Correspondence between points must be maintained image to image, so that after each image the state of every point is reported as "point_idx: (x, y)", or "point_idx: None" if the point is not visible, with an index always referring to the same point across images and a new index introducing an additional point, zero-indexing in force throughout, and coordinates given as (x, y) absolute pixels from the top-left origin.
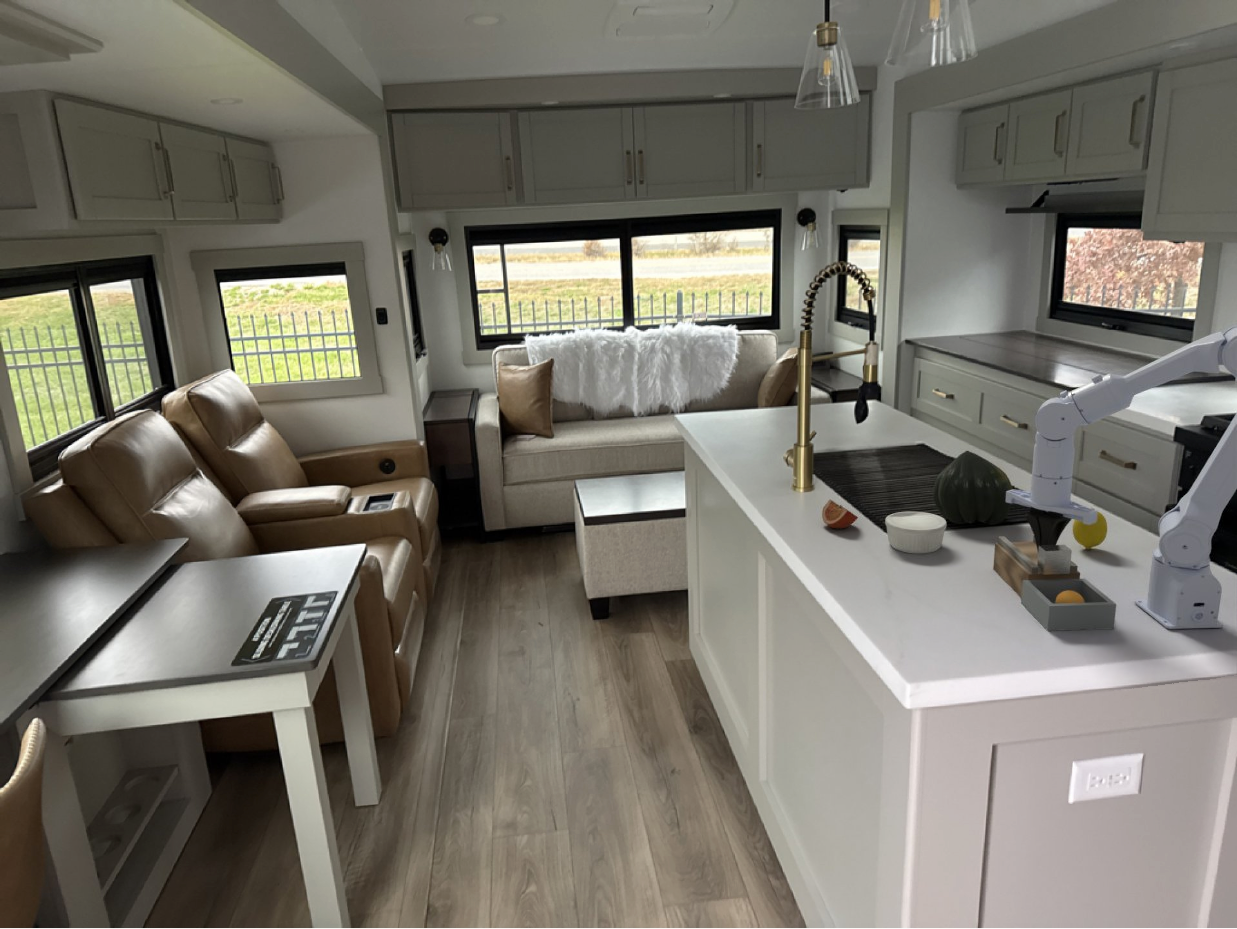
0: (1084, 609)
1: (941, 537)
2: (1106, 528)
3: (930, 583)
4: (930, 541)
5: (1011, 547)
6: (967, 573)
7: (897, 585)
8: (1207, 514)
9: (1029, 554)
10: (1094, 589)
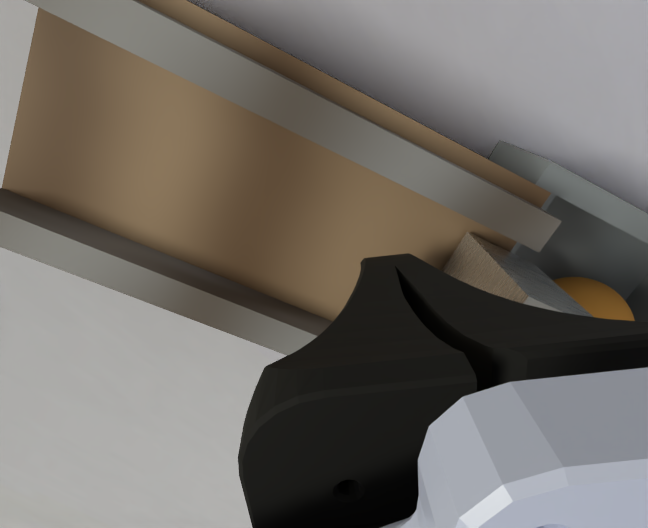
0: None
1: None
2: None
3: (119, 446)
4: None
5: (166, 304)
6: (80, 302)
7: (98, 518)
8: None
9: (224, 209)
10: (644, 233)
